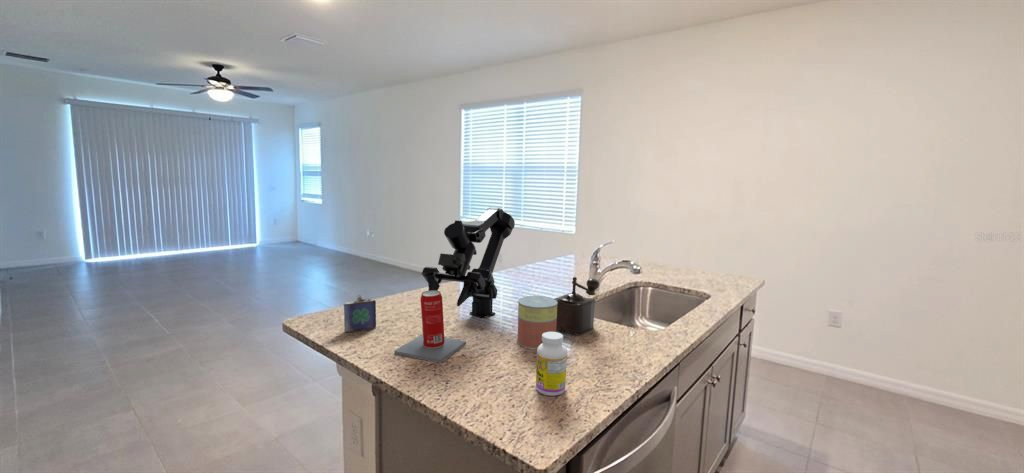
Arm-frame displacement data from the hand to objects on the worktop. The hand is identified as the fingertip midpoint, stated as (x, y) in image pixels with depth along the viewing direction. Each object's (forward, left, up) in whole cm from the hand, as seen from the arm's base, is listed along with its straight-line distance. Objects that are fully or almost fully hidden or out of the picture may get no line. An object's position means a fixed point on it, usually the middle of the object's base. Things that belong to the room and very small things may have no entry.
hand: (443, 303), depth 126 cm
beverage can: (+5, +3, -10) cm, 12 cm away
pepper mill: (-37, +20, -11) cm, 44 cm away
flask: (+14, -23, -11) cm, 29 cm away
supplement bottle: (-1, +40, -11) cm, 41 cm away
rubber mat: (+6, +3, -11) cm, 13 cm away
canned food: (-20, +18, -11) cm, 29 cm away
